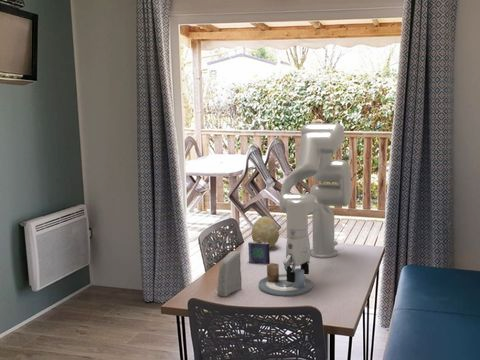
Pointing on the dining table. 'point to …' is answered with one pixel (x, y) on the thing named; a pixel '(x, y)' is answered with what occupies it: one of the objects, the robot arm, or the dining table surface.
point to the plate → (284, 287)
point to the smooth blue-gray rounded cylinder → (298, 278)
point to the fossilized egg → (265, 231)
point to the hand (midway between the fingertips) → (297, 277)
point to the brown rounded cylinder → (272, 272)
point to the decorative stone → (229, 274)
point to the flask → (259, 252)
